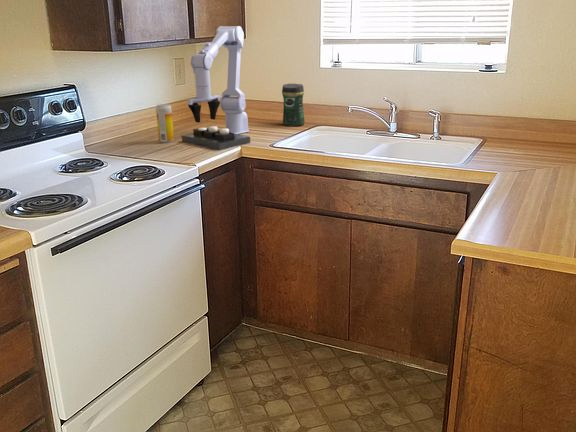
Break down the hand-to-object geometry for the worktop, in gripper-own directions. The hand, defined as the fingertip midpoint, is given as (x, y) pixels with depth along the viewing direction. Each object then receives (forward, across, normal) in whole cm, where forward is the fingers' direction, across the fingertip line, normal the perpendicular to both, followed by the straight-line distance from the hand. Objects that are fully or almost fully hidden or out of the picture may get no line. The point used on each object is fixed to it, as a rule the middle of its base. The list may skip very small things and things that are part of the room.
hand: (205, 120), depth 231 cm
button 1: (+6, -4, -7) cm, 10 cm away
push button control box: (+9, -5, -1) cm, 10 cm away
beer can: (+10, +8, -17) cm, 21 cm away
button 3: (+5, -4, +7) cm, 9 cm away
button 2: (+5, -4, 0) cm, 6 cm away
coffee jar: (+10, -50, 0) cm, 51 cm away
